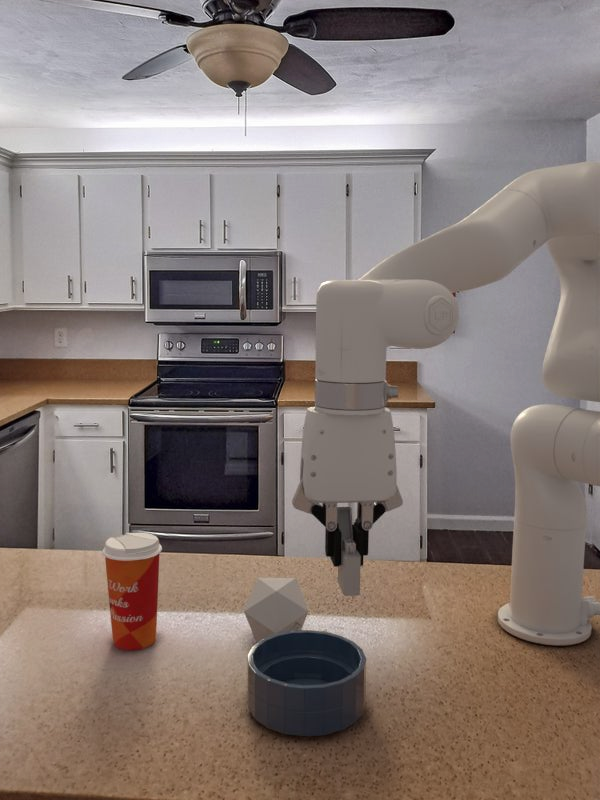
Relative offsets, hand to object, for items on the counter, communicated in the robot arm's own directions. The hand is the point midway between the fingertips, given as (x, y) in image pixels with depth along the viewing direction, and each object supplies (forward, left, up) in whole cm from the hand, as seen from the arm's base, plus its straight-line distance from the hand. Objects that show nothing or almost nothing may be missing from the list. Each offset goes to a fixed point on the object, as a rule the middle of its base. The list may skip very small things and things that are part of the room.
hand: (346, 560), depth 81 cm
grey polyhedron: (+6, -17, -17) cm, 25 cm away
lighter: (0, 0, -3) cm, 3 cm away
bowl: (+4, 0, -17) cm, 18 cm away
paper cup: (+25, -18, -17) cm, 36 cm away
